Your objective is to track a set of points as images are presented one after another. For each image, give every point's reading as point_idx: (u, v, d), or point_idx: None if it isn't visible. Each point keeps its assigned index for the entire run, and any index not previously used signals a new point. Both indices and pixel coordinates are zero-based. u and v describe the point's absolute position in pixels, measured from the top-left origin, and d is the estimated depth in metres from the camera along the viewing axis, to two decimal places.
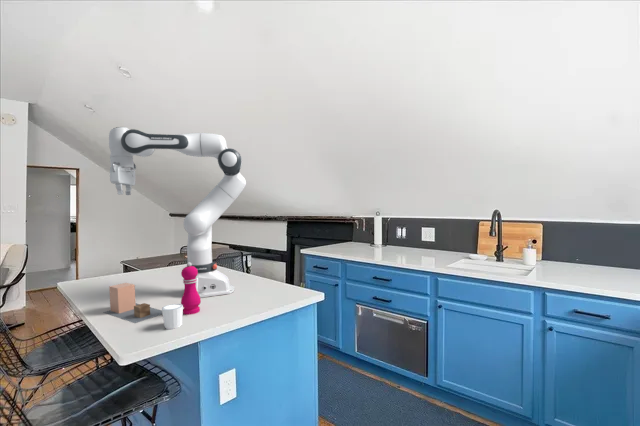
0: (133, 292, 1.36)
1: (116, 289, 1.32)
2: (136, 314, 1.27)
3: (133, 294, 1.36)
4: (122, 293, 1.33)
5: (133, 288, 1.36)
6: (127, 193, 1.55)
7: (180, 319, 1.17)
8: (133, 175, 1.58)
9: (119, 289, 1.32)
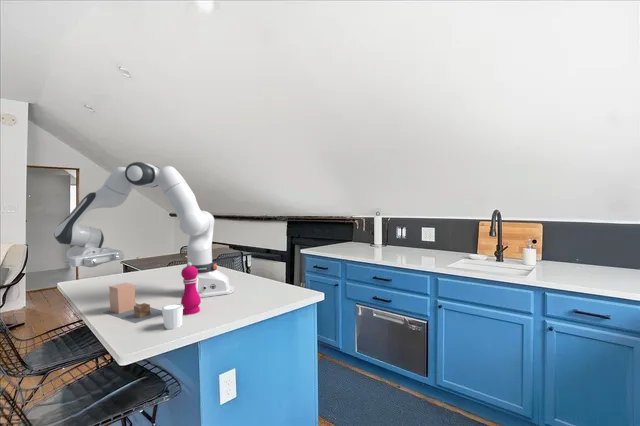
0: (133, 292, 1.36)
1: (116, 289, 1.32)
2: (136, 314, 1.27)
3: (133, 294, 1.36)
4: (122, 293, 1.33)
5: (133, 288, 1.36)
6: (114, 258, 1.46)
7: (180, 319, 1.17)
8: (113, 251, 1.53)
9: (119, 289, 1.32)
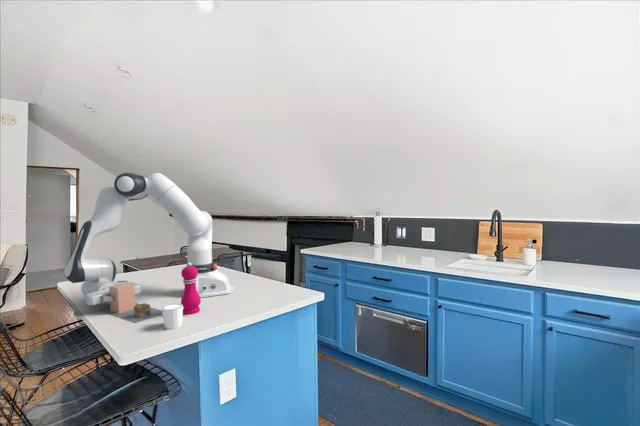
0: (133, 292, 1.36)
1: (116, 289, 1.32)
2: (136, 314, 1.27)
3: (133, 294, 1.36)
4: (122, 293, 1.33)
5: (133, 288, 1.36)
6: None
7: (180, 319, 1.17)
8: None
9: (119, 289, 1.32)
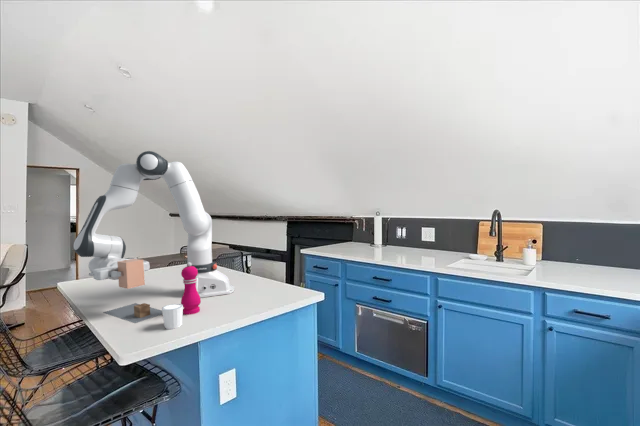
0: (142, 267, 1.32)
1: (124, 264, 1.27)
2: (136, 314, 1.27)
3: (142, 270, 1.32)
4: (131, 268, 1.28)
5: (142, 264, 1.32)
6: None
7: (180, 319, 1.17)
8: None
9: (128, 264, 1.27)
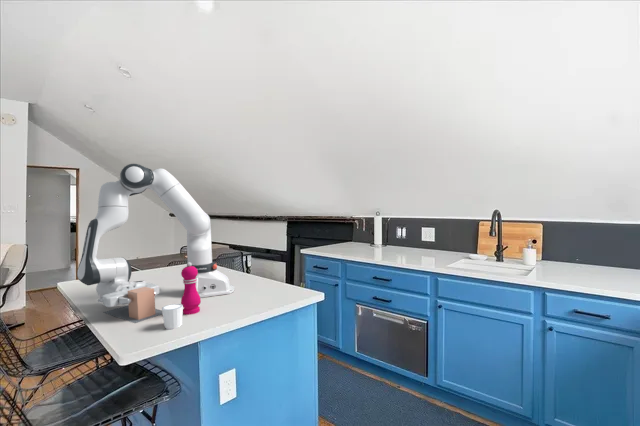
0: (153, 297, 1.29)
1: (135, 294, 1.24)
2: None
3: (153, 299, 1.29)
4: (142, 298, 1.25)
5: (153, 293, 1.29)
6: None
7: (180, 319, 1.17)
8: (148, 285, 1.39)
9: (138, 294, 1.24)
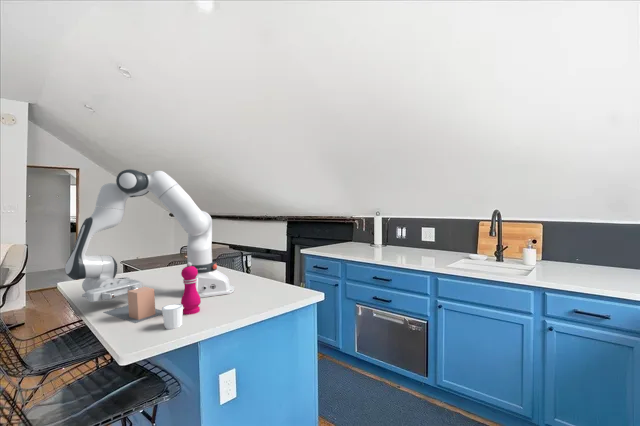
0: (153, 297, 1.29)
1: (135, 294, 1.24)
2: None
3: (153, 299, 1.29)
4: (142, 298, 1.25)
5: (153, 293, 1.29)
6: None
7: (180, 319, 1.17)
8: (131, 281, 1.46)
9: (138, 294, 1.24)
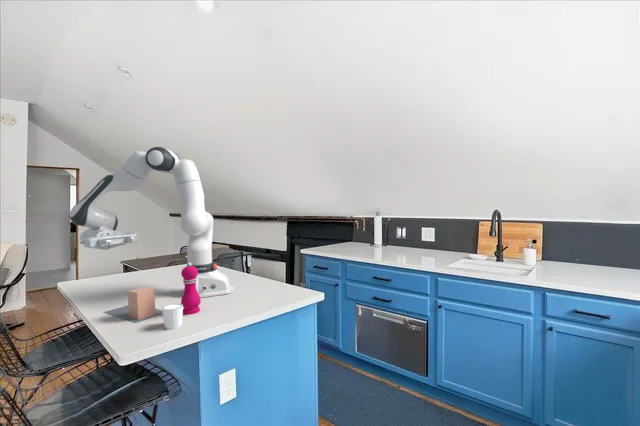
0: (153, 297, 1.29)
1: (135, 294, 1.24)
2: None
3: (153, 299, 1.29)
4: (142, 298, 1.25)
5: (153, 293, 1.29)
6: (129, 240, 1.44)
7: (180, 319, 1.17)
8: (127, 233, 1.51)
9: (138, 294, 1.24)
